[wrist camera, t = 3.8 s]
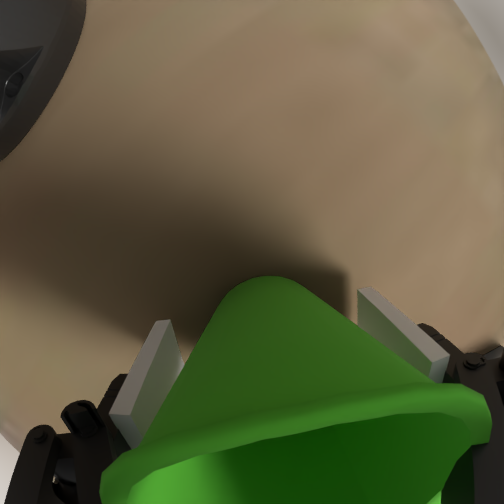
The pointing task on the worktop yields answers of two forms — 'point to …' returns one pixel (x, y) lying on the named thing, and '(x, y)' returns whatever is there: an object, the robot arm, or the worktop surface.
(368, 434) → the cup
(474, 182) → the worktop surface
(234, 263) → the worktop surface
